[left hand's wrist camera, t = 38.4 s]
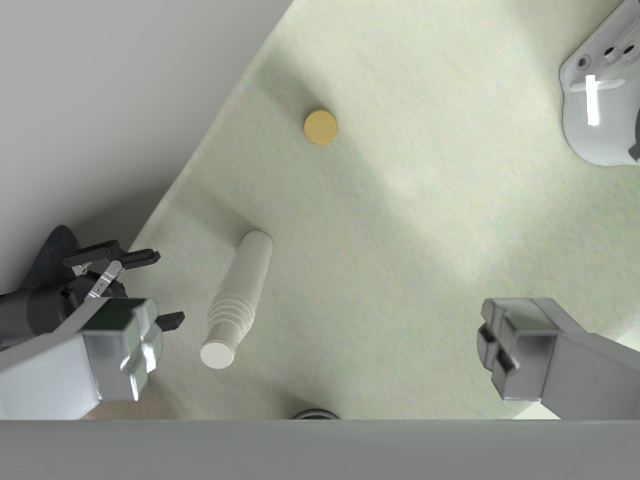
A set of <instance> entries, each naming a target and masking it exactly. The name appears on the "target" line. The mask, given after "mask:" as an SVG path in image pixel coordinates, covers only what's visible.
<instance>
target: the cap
mask: <svg viewBox="0 0 640 480" xmlns="http://www.w3.org/2000/svg"><path fill="white" fill-rule="evenodd" d="M304 132H305V135H306V137H307V138H308V139H309V140H310V141H311V142H312V143H314V144H317V145H325V144H327V143H329V142H331V141H332V140H333V139H334V137H335V136H336V133H337V122H336V119H335V117H334V116H333V114H332V113H331V112H329V111H327V110H324V109H317V110H314V111H312V112H311V113H310V114H309V115H308V116H307V118H306V121H305V124H304Z"/></svg>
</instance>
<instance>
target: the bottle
mask: <svg viewBox="0 0 640 480" xmlns="http://www.w3.org/2000/svg"><path fill="white" fill-rule="evenodd" d="M272 252H273V242H272V240H271V238H270V237H269V236H268V235H267V234H266V233H264V232H261V231H252V232H249V233H247V234H246V235H245V236H244V237H243V239H242V241H241V243H240V245H239V247H238V249H237V251H236V253H235V255H234V258H233V260H232V262H231V264H230V266H229V268H228V270H227V272H226V274H225V276H224V279H223V281H222V283H221V285H220V287H219V289H218V291H217V293H216V295H215V297H214V300H213V302H212V304H211V306H210V310H209V313H208V326H207V327H208V329H207V338H206V340H205V342H204V343H203V344H202V347H201V349H200V355H201V359H202V361H203V362H204V363H205V364H206V365H207V366H209V367H211V368H215V369H221V368H225V367H227V366H228V365H229V364H230V363H231V362H232V361H233V359H234V357H235V350H236V347H237V345H238V344H239V343H240V341H241V339H242V338H243V337H244V335H245V334H246V333H247V332H248V330H249V329H250V328H251V325H252V323H253V322H254V318H255V315H256V311H257V307H258V304H259V300H260V296H261V293H262V289H263V285H264V282H265V278H266V274H267V271H268V267H269V263H270V260H271V256H272Z"/></svg>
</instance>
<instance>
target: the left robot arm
mask: <svg viewBox="0 0 640 480" xmlns="http://www.w3.org/2000/svg"><path fill="white" fill-rule="evenodd" d="M580 59H582V61H583V62H582V65H581V66H579V64H578V63H579V60H580ZM560 81H561V85H562V88H563V91H564V107H563V129H564V133H565V137H566V139H567V141H568V143H569V145H570V147H571V148H572V149H573V151H574V152H575V153H576V154H577V155H578V156H580V157H581V158H582V159H584V160H586V161H588V162H590V163H593V164H596V165H602V166H616V165H640V0H624V1H623V2H622V3H621V4H620V5H619V6H618V7H617V9H616V10H615V11H614V12H613V13H612V14H611V15H610V16H609V17H608V18H607V19H606V20H605V21H604V22H603V23H602V24H601V25H600V26H599V27H598V28H597V29H596V30H595V31H594V32H593V33H592V34H591V35H590V37H589V38H588V39H587V40H586V41H585V42H584V43H583V44H582V45H581V46H580V47H579V48H578V49H577V50H576V51H575V52H574V53H573V54H572V55H571V56H570V57H569V58H568V59H567V60H566V61H565V62H564V64H563V65H562V67H561V69H560ZM158 315H159V311H158V306H157V302H156V301H155V300H154V299H153V298H121V297H114V298H112V297H93V298H88V299H87V300H86V301H85V302H84V303H83V304H82V305H81V306H80V307H79V308H78V309H77V310H76V311H75V312H74V313H72V314H71V315H70V316H69V317H68V318H67V319H66V320H65V321H64V322H63V323H62V324H61V325H60V326H59V327H58V328H57V329H56V330H55V331H54V332H53V333H44V334H42V335H40V336H37V337H35V338H33V339H30V340H28V341H25V342H23V343H21V344H18V345H16V346H13V347H11V348H9V349H6V350H4V351H2V352H0V480H640V352H638V351H636V350H634V349H631V348H629V347H626V346H624V345H622V344H619V343H617V342H615V341H612V340H610V339H607V338H605V337H603V336H600V335H598V334H596V333H587V332H586V331H585V330H584V329H583V328H582V327H581V326H580V325H579V324H578V323H577V322H576V321H575V320H574V319H573V318H572V317H571V316H570V315H569V314H568V313H567V312H566V311H564V310H563V309H562V308H561V307H560V306H559V305H558V304H557V303H556V302H555V301H554V300H553V299H552V298H549V297H531V298H530V297H525V298H489V299H485V301H484V303H483V305H482V311H481V315H482V316H483V318H484V320H485V321H486V322H485V323H484V324H483V325H482V326H481V327H480V328H479V329H478V335H477V350H478V355H479V358H480V361H481V363H482V365H483V366H484V368H486V369H488V370H489V371H491V372H492V378H491V381H492V383H493V384H494V386H495V388H496V390H497V391H498V393H499V395H500V397H501V398H502V400H507V401H541V402H540V403H541V404H542V405H543V406H545V407H546V408H547V409H549V410H550V411H551V412H553V413H554V414H555V415H557V416H558V417H559V418H561V419H562V420H78V419H80V418H81V417H82V416H84V415H85V414H86V413H87V412H89V411H90V410H91V409H93V408H94V407H95V406H97V405H98V404H99V403H100V402H99V401H132V400H138V398H139V397H140V395H141V393H142V391H143V390H144V388H145V386H146V384H147V383H148V381H149V378H148V372H149V371H151V370H152V369H154V368H156V366H157V364H158V363H159V361H160V359H161V354H162V350H163V334H162V329H161V328H160V327H159V326H158V325H157V324H156V323H155V322H154V321H155V320H156V318H157V316H158Z"/></svg>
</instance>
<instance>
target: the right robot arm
mask: <svg viewBox="0 0 640 480" xmlns="http://www.w3.org/2000/svg"><path fill="white" fill-rule="evenodd" d="M106 257H107V258H108V259H109V260H110V261H111V264H110V265H109V267H108V268H107V270H106V271H105V272H104V273H103V274H102V275H101V274H98V273H95V272H92V271H87V267H88V266H89V265H90V264H91V262H92V261H95V260H99V259H102V258H106ZM160 258H161V256H160V254H159V251H156V252H153V249H144V250H139V251H135V252H130V253H126V252H124V251H123V250H122V249H121V248H120V244H119V242H118V241H117V240H111V241H107V242H104V243H100V244H97V245H93V246H90V247H87V248H83V249H80V250H76V251H75V252H73V253H72V254H70V255H69V256H68V257H66V258H65V259H64V260H63V264H64V266H65V267H68V268H71V267H72V269H73V271H74V273H75V274H76V276H77V277H73V278H68V279H64V280H59V281H54V282H50V283H45V284H36V285H32V286H30V287H27V288H23V289H20V290H17V291H15V292H12V293H8V294H4V295H0V352H1V351H4V350H6V349H9V348H11V347H13V346H16V345H18V344H21V343H23V342H25V341H28V340H30V339H33V338H35V337H37V336H40V335H42V334H44V333H53V332H54V331H55V330H56V329H57V328H58V327H59V326H60V325H61V324H62V323H63V322H64V321H65V320H66V319H67V318H68V317H69V316H70V315H71V314H72V313H74V312H75V311H76V310H77V309H78V308H79V307H80V306H81V305H82V304H83V303H84V302H85V301H86V300H87V299H88V298H93V297H112V298H114V297H121V298H128V296H127V295H126V293H125V288H124V286H123V283H119V282H118V281H117V280H116V279H117V278H118V276H119V275H120V273H121V272H122V271H123V269H124V268H125V270H127V269H132V268H136V267H141V266H146V265H150V264H154V263H156V262H157V261H158V260H159V259H160ZM184 318H185V315H184V313H183V311H181V312H176V313H171V314H166V315H161V316H157V318H156V320H155V321H154V322H155V323H156V324H157V325H158V326H159V327H160V328H161V329H162V332H165V331H170V330H175V329H177V328H178V327H179V325H180V324H181V323H182V321H183V320H184ZM293 420H340V419H339V418H338V417H336V416H335V415H333V414H331V413H329V412H326V411H322V410H310V411H306V412H303V413H301V414H299V415H297V416H296V417H295V418H293Z"/></svg>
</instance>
